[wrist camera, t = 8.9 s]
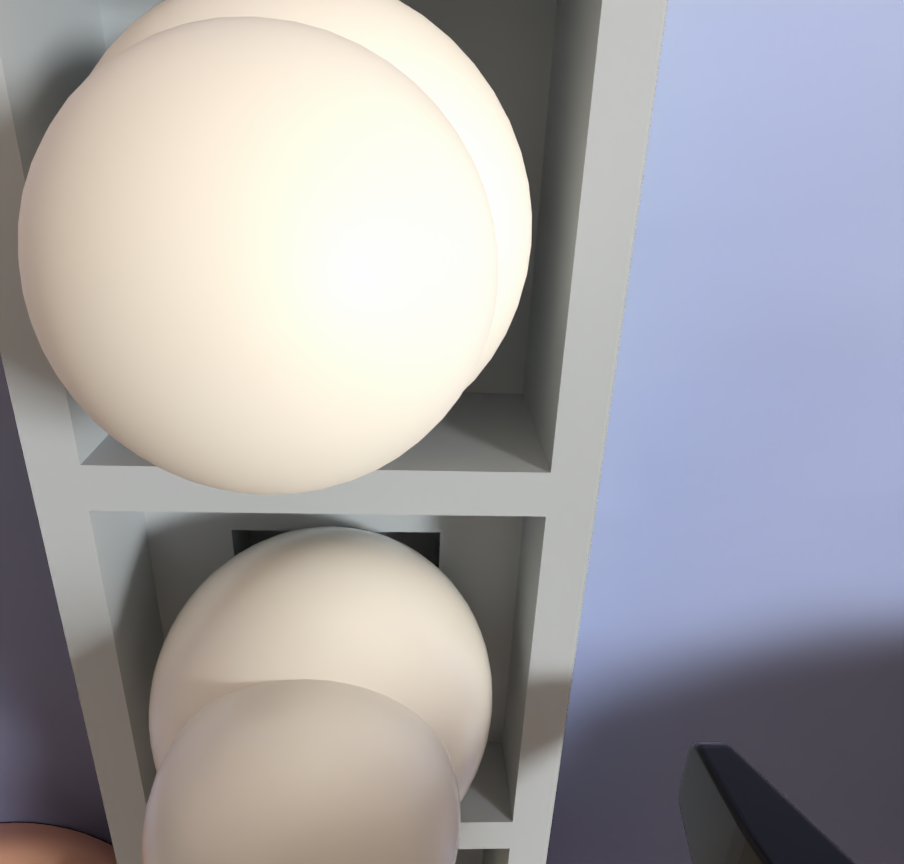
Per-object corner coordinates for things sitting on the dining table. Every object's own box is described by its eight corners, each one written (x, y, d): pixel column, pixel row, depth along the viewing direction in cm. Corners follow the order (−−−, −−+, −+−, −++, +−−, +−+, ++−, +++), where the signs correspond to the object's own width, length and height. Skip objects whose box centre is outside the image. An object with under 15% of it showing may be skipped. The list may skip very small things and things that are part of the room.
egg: (472, 691, 13) (504, 1103, 8) (217, 689, 13) (73, 1113, 7) (490, 472, 11) (548, 824, 6) (190, 464, 11) (-31, 825, 5)
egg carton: (581, -57, 10) (1005, -454, 3) (481, 984, 20) (517, 1484, 13) (98, -85, 10) (-855, -624, 2) (243, 990, 20) (141, 1507, 13)
